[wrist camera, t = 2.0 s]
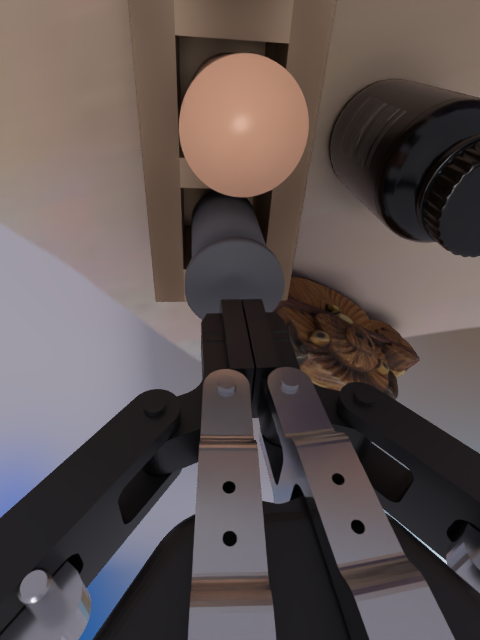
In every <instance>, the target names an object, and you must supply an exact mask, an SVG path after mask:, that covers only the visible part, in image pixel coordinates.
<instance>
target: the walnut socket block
mask: <svg viewBox="0 0 480 640" xmlns="http://www.w3.org/2000/svg"><path fill="white" fill-rule="evenodd" d="M336 1H337V0H128V6H129V17H130V28H131V39H132V50H133V61H134V71H135V82H136V93H137V104H138V115H139V126H140V136H141V147H142V158H143V169H144V180H145V191H146V202H147V212H148V223H149V234H150V245H151V256H152V267H153V277H154V288H155V299H156V302H179V301H187V300H186V296H185V273H186V269H187V267H188V264H189V263H190V261H191V259H192V212H193V209H194V207H195V205H196V203H197V202H198V201H199V200H200V198H202V197H203V196H204V195H205V194H207V193H209V192H211V191H214V190H213V189H211V188H210V187H208V186H207V185H205V184H204V183H203V182H202V181H201V180H200V179H199V178H198V177H197V176H196V175H195V173H194V172H193V171H192V169H191V168H190V166H189V165H188V163H187V161H186V159H185V156H184V153H183V151H182V147H181V143H180V136H179V118H180V111H181V106H182V102H183V99H184V96H185V94H186V91H187V89H188V87H189V86H190V84H191V82H192V79H193V76H194V74H195V72H196V71H197V69H198V68H199V66H200V65H201V64H202V63H203V62H204V61H205V60H207V59H208V58H210V57H211V56H213V55H216V54H219V53H254V54H258V55H261V56H264V57H267V58H269V59H271V60H273V61H275V62H277V63H278V64H280V65H281V66H282V67H284V68H285V69H286V70H287V71H288V72H289V73H290V74H291V75H292V76H293V78H294V79H295V80H296V82H297V83H298V85H299V87H300V89H301V90H302V93H303V95H304V98H305V101H306V105H307V109H308V116H309V130H308V138H307V143H306V146H305V149H304V152H303V155H302V157H301V159H300V161H299V163H298V164H297V166H296V168H295V169H294V170H293V172H292V173H291V174H290V175H289V176H288V177H287V178H286V179H285V180H284V181H283V182H282V183H281V184H279V185H278V186H277V187H275V188H273V189H272V190H270V191H268V192H265V193H263V194H260V195H257V196H251V197H246V198H247V199H248V200H249V202H250V203H251V205H252V207H253V209H254V212H255V215H256V218H257V221H258V224H259V227H260V230H261V233H262V235H263V238H264V241H265V244H266V246H267V247H268V248H269V249H270V250H271V251H272V252H273V253H274V254H275V256H276V258H277V259H278V261H279V264H280V266H281V269H282V271H283V275H284V282H285V285H284V292H283V295H282V298H281V300H280V301H286V300H287V299H288V293H289V287H290V281H291V274H292V268H293V262H294V256H295V250H296V244H297V238H298V232H299V226H300V220H301V214H302V208H303V202H304V196H305V190H306V183H307V177H308V171H309V165H310V159H311V153H312V147H313V141H314V135H315V129H316V123H317V117H318V111H319V105H320V98H321V92H322V86H323V80H324V74H325V68H326V62H327V56H328V50H329V44H330V38H331V32H332V26H333V20H334V14H335V7H336Z"/></svg>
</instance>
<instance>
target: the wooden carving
mask: <svg viewBox="0 0 480 640" xmlns="http://www.w3.org/2000/svg"><path fill="white" fill-rule="evenodd" d="M272 312H276V313H277V314H278V315H279V316H280V317H281V318H282V319H283V320H284V321H285V324H286V327H287V330H288V333H289V336H290V341H291V343H292V346H293V349H294V352H295V355H296V358H297V361H298V364H299V367H300V370H301V371H303V372H304V373H306V374H307V375H308V376H309V378H310V379H311V381H312V383H314V384H316V385H318V386H321V387H324V388H329V389H333V390H338V391H341V389H342V387H343V386H345V385H346V384H348V383H351V382H363V383H367V384H369V385H372V386H374V387H375V388H377V389H378V390H380V391H382V392H383V393H385V394H386V395H388V396H389V397H391V398H393V399H394V400H395V399H396V398H397V396H398V386H397V379H396V378H397V377H400V376H402V375H403V374H404V373H405V372H406V371H407V370H408V369H409V368H410V367H411V366H413V365H414V364H415V363H417V362H418V361H419V357H418V356H417V354H416V352H415V351H414V349H413V348H412V347H411V345H410V344H409V343H408V342H407V341H406V340H404V339H403V338H402V337H401V336H400V334H399V333H398V332H397V331H396V330H394V329H393V328H392V327H391V326H390V325H388V324H386V323H384V322H382V321H376V320H369V318H368V316H367V314H366V312H365V311H364V310H362V309H361V308H360V307H359V306H357V305H356V304H354V303H353V302H352V301H350V300H349V299H348V298H346V297H344V296H343V295H341V294H339V293H338V292H336V291H334V290H332V289H329V288H328V287H326V286H323V285H321V284H317V283H315V282H313V281H309V280H308V279H303V278H300V277H291V281H290V287H289V293H288V299H287V300H286V301H280V302H279V304H278V305H277V307H276V308H275V309H274V310H273V311H272Z"/></svg>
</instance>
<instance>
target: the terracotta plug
mask: <svg viewBox="0 0 480 640" xmlns="http://www.w3.org/2000/svg"><path fill="white" fill-rule="evenodd" d="M308 130H309V116H308V109H307V105H306V101H305V98H304V95H303V93H302V90H301V89H300V87H299V85H298V83H297V82H296V80H295V79H294V78H293V76H292V75H291V74H290V73H289V72H288V71H287V70H286V69H285V68H284V67H282V66H281V65H280V64H278V63H277V62H275V61H273V60H271V59H269V58H267V57H264V56H261V55H258V54H254V53H219V54H216V55H213V56H211V57H210V58H208V59H207V60H205V61H204V62H203V63H202V64H201V65H200V66H199V68H198V69H197V71H196V72H195V74H194V76H193V79H192V82H191V84H190V86H189V87H188V89H187V91H186V94H185V96H184V99H183V102H182V106H181V111H180V118H179V136H180V143H181V147H182V151H183V153H184V156H185V159H186V161H187V163H188V165H189V166H190V168H191V169H192V171H193V172H194V173H195V175H196V176H197V177H198V178H199V179H200V180H201V181H202V182H203V183H204V184H205V185H207V186H208V187H210V188H211V189H213V190H215V191H217V192H219V193H222V194H224V195H228V196H233V197H251V196H257V195H260V194H263V193H265V192H268V191H270V190H272V189H273V188H275V187H277V186H278V185H279V184H281V183H282V182H283V181H284V180H285V179H286V178H287V177H288V176H289V175H290V174H291V173H292V172H293V170H294V169H295V168H296V166H297V164H298V163H299V161H300V159H301V157H302V155H303V152H304V149H305V146H306V143H307V138H308Z"/></svg>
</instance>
